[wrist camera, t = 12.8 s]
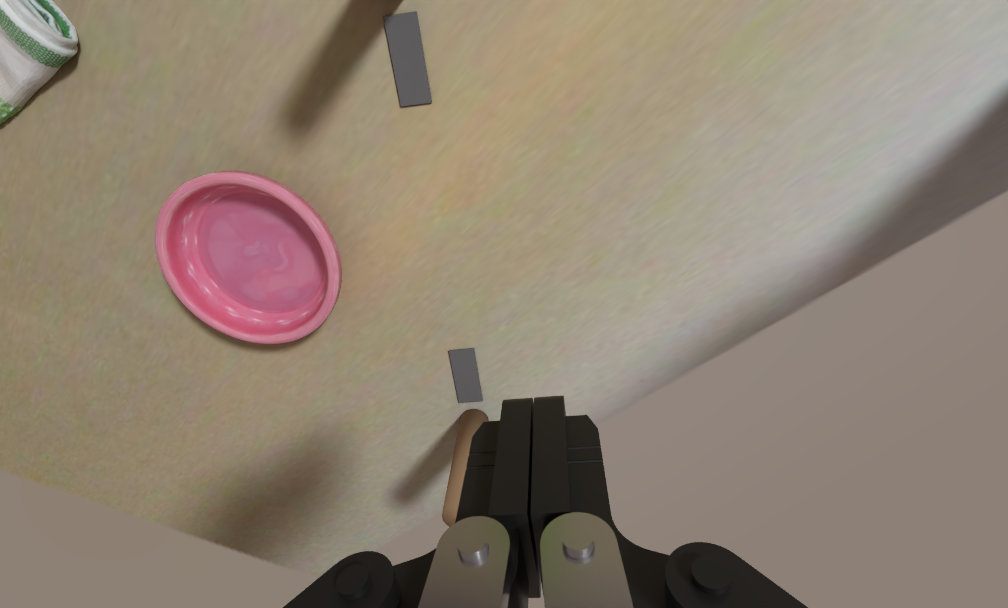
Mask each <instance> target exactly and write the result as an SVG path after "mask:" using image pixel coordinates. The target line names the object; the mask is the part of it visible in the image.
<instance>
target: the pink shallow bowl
mask: <svg viewBox="0 0 1008 608" xmlns="http://www.w3.org/2000/svg"><path fill="white" fill-rule="evenodd" d="M155 246H156V252H157V257H158V261H159V264H160V267H161V270H162V272H163V274H164V276H165V278H166V280H167V282H168V284H169V286H170V287H171V289H172V290H173V292H174V293H175V294H176V296H177V297H178V298H179V300H180V301H181V302H182V303H183V304H184V305H185V306H186V308H188V309H189V310H190V311H191V312H192V313H193V314H194V315H195V316H197V317H198V318H199V319H200V320H202V321H203V322H205V323H206V324H208V325H209V326H211V327H213V328H214V329H216V330H218V331H220V332H222V333H224V334H226V335H228V336H231V337H234V338H237V339H240V340H244V341H248V342H252V343H260V344H280V343H287V342H291V341H295V340H297V339H300V338H302V337H304V336H306V335H308V334H310V333H311V332H313V331H314V330H315V329H317V328H318V327H319V326H320V325H321V324H322V323H323V322H324V321H325V319H326V318H327V317H328V315H329V314H330V313H331V311H332V310H333V308H334V306H335V304H336V302H337V299H338V296H339V293H340V288H341V281H342V269H341V261H340V256H339V252H338V249H337V246H336V243H335V241H334V238H333V236H332V234H331V232H330V231H329V229H328V227H327V226H326V224H325V223H324V221H323V220H322V218H321V217H320V216H319V215H318V213H317V212H316V211H315V210H314V209H313V208H312V207H311V206H310V205H309V204H308V203H307V202H306V201H305V200H304V199H302V198H301V197H300V196H299V195H297V194H296V193H295V192H293V191H292V190H290V189H289V188H287V187H286V186H284V185H282V184H280V183H278V182H276V181H274V180H271V179H269V178H266V177H263V176H260V175H257V174H253V173H248V172H241V171H221V172H215V173H210V174H206V175H202V176H199V177H196V178H194V179H192V180H190V181H188V182H186V183H185V184H183V185H182V186H180V187H179V188H178V189H176V190H175V191H174V192H173V193H172V194H171V195H170V196H169V198H168V199H167V200H166V202H165V204H164V205H163V207H162V209H161V211H160V214H159V217H158V220H157V224H156V231H155Z"/></svg>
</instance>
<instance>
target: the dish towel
mask: <svg viewBox="0 0 1008 608" xmlns="http://www.w3.org/2000/svg"><path fill="white" fill-rule="evenodd" d="M77 43H78V36H77V31H76V29H75V27H74V26H73V24H72V23H71V22H70V21H69V19H68V18H67V17H66V16H65V14H64V13H63V12H62V11H61V10H60V8H59V7H58V6H57V5H56V4H55V3H54V1H53V0H0V125H1V124H2V123H3V122H5V121H6V120H7V119H9V118H10V117H11V116H13V115H14V114H16V113H17V112H18V111H20V110H21V109H22V108H23V106H24V105H25V103H26V102H27V101H28V100H29V99H30V98H31V97H32V96H33V95H34V94H35V92H36V91H37V90H39V89H40V88H41V87H42V86H43V85H44V84H45V83H47V82H48V81H49V80H50V79H51V78H52V77H53V76H54V75H55V73H56V72H57V71H58V70H59V68H60V67H61V66H62V65H63V64H65V63H66V62H67V61H68V60H69V59H71V58H72V57H73V56H74V55H75V54H76V53H77V51H78V47H77Z"/></svg>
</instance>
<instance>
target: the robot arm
mask: <svg viewBox="0 0 1008 608" xmlns="http://www.w3.org/2000/svg"><path fill="white" fill-rule="evenodd" d="M600 447H601V446H600V439H599V433H598V428H597V427H596V426H595V424H594V423H593V422H592V421H591V419H590V418H589V417H588V416H587V415H580V416H566V413H565V404H564V396H551V397H536V398H534V403H533V398H524V399H509V400H503V403H502V410H501V418H500V421H489V422H483V423H482V424H481V426H480V427H479V428H478V430H477V431H476V432H475V434H474V435H473V436H472V441H471V446H470V451H469V456H468V461H467V466H466V467H467V470H466V471H465V476H464V481H463V486H462V491H461V496H460V501H459V506H458V511H457V516H456V521H455V524H453V525H452V526H451V527H449V528H448V529H447V530H446V531H445V533H444V534H443V535H442V537H441V538H440V540H439V543H438V545H437V548H436V549H434V550H433V551H431V552H430V553H428V554H426V555H423V556H421V557H418V558H415V559H413V560H410V561H407V562H404V563H401V564H398V565H395V566H392V564H391V562H390V561H389V559H388V558H387V557H385V556H384V555H383V554H380V553H378V552H373V551H365V552H359V553H355V554H353V555H350V556H348V557H346V558H344V559H342V560H341V561H339V562H338V563H337V564H335V565H334V566H333V567H332V568H330V569H329V570H328V571H327V572H326V573H324V574H323V575H322V576H321V577H320V578H318V579H317V580H316V581H315V582H313V583H312V584H311V585H310V586H309V587H307V588H306V589H305V590H304V591H303V592H301V593H300V594H299V595H298V596H296V597H295V598H294V599H293V600H291V601H290V602H289V603H288V604H287V605H286V606H284V607H283V608H528V598H540V595H541V594H540V592H541V582H542V589H543V595H544V603H545V608H808V607H806V606H805V605H804V604H802V603H801V602H800V601H798V600H797V599H795V598H794V597H792V596H791V595H790V594H789V593H787V592H786V591H785V590H783V589H782V588H780V587H779V586H778V585H776V584H775V583H774V582H772V581H771V580H769V579H768V578H767V577H765V576H764V575H763V574H761V573H760V572H759V571H757V570H756V569H754V568H753V567H752V566H751V565H749V564H748V563H746V562H745V561H744V560H742V559H741V558H740V557H738V556H737V555H735V554H734V553H732V552H731V551H729V550H727V549H725V548H723V547H721V546H718V545H715V544H711V543H703V542H695V543H689V544H685V545H683V546H680V547H679V548H677V549H676V550H675V551H673V552H672V554H671V555H670V556H669V555H666V554H662V553H658V552H654V551H650V550H647V549H644V548H641V547H639V546H637V545H635V544H633V543H632V542H630V541H629V540H627V539H626V538H625V537H624V536H623V535H622V534H621V533H620V532H619V531H618V529H617V528H616V526H615V525H614V522H613V520H612V516H611V511H610V505H609V498H608V492H607V485H606V479H605V472H604V466H603V459H602V452H601V448H600Z"/></svg>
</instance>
